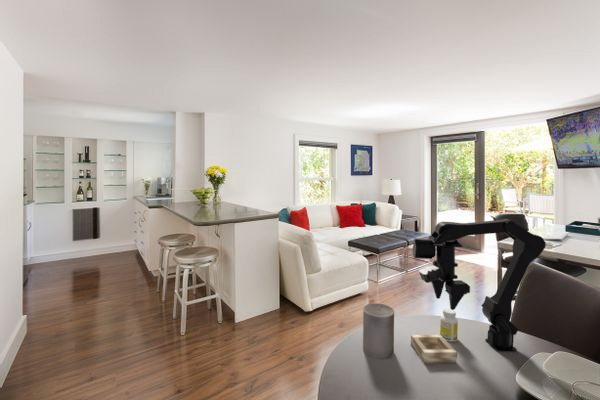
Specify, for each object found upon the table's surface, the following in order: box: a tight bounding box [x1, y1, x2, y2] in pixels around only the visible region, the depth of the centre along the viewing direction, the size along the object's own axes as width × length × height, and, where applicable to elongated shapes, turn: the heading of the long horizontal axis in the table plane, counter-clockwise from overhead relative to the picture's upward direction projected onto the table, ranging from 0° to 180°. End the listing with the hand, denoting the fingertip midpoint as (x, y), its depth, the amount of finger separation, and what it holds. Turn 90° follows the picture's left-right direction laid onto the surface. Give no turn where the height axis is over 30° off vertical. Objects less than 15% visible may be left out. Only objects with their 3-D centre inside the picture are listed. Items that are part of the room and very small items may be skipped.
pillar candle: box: [362, 302, 395, 360], centre depth 94 cm, size 10×10×15 cm
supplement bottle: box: [439, 308, 459, 343], centre depth 102 cm, size 5×5×10 cm
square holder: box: [410, 334, 458, 364], centre depth 93 cm, size 10×10×3 cm
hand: (445, 303), depth 100 cm, fingers open, 9 cm apart
